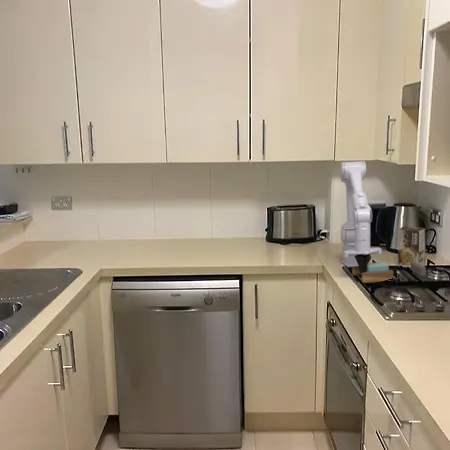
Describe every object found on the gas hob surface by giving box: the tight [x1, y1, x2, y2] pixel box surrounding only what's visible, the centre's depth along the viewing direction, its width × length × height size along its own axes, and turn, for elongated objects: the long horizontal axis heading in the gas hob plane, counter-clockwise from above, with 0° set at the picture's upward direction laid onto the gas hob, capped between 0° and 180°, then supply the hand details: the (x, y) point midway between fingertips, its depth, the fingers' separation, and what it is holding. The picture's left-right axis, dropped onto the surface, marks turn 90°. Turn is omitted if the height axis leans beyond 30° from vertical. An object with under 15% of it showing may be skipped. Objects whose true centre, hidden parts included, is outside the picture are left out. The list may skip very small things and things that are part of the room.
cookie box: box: [397, 225, 426, 269], centre depth 195 cm, size 9×6×16 cm
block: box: [365, 261, 390, 273], centre depth 185 cm, size 5×8×5 cm, turn 97°
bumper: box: [410, 263, 427, 277], centre depth 188 cm, size 8×2×3 cm, turn 7°
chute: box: [351, 266, 394, 284], centre depth 185 cm, size 11×12×4 cm
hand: (362, 272), depth 185 cm, fingers closed
